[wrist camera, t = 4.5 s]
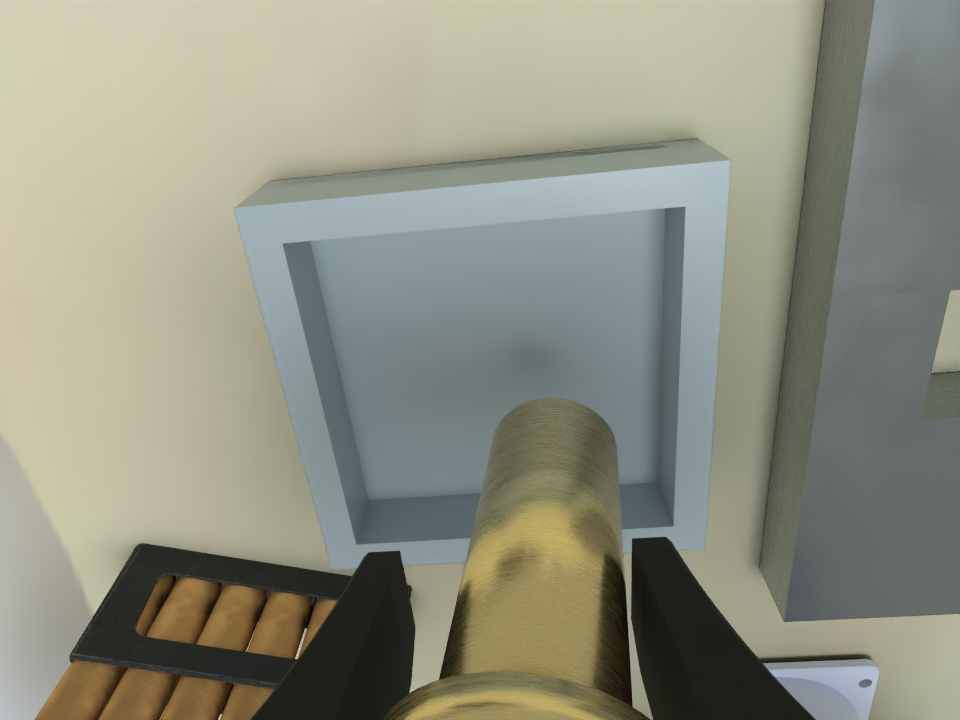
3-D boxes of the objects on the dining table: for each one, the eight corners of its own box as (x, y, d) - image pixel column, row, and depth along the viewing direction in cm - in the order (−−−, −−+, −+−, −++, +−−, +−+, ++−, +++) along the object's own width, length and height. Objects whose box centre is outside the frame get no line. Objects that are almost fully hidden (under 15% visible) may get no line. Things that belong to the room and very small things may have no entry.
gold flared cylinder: (646, 523, 17) (691, 945, 9) (473, 520, 18) (386, 906, 10) (649, 369, 15) (708, 747, 7) (454, 372, 16) (326, 717, 8)
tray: (682, 489, 24) (705, 549, 21) (350, 509, 25) (331, 569, 22) (697, 138, 18) (730, 159, 16) (270, 181, 19) (233, 208, 17)
